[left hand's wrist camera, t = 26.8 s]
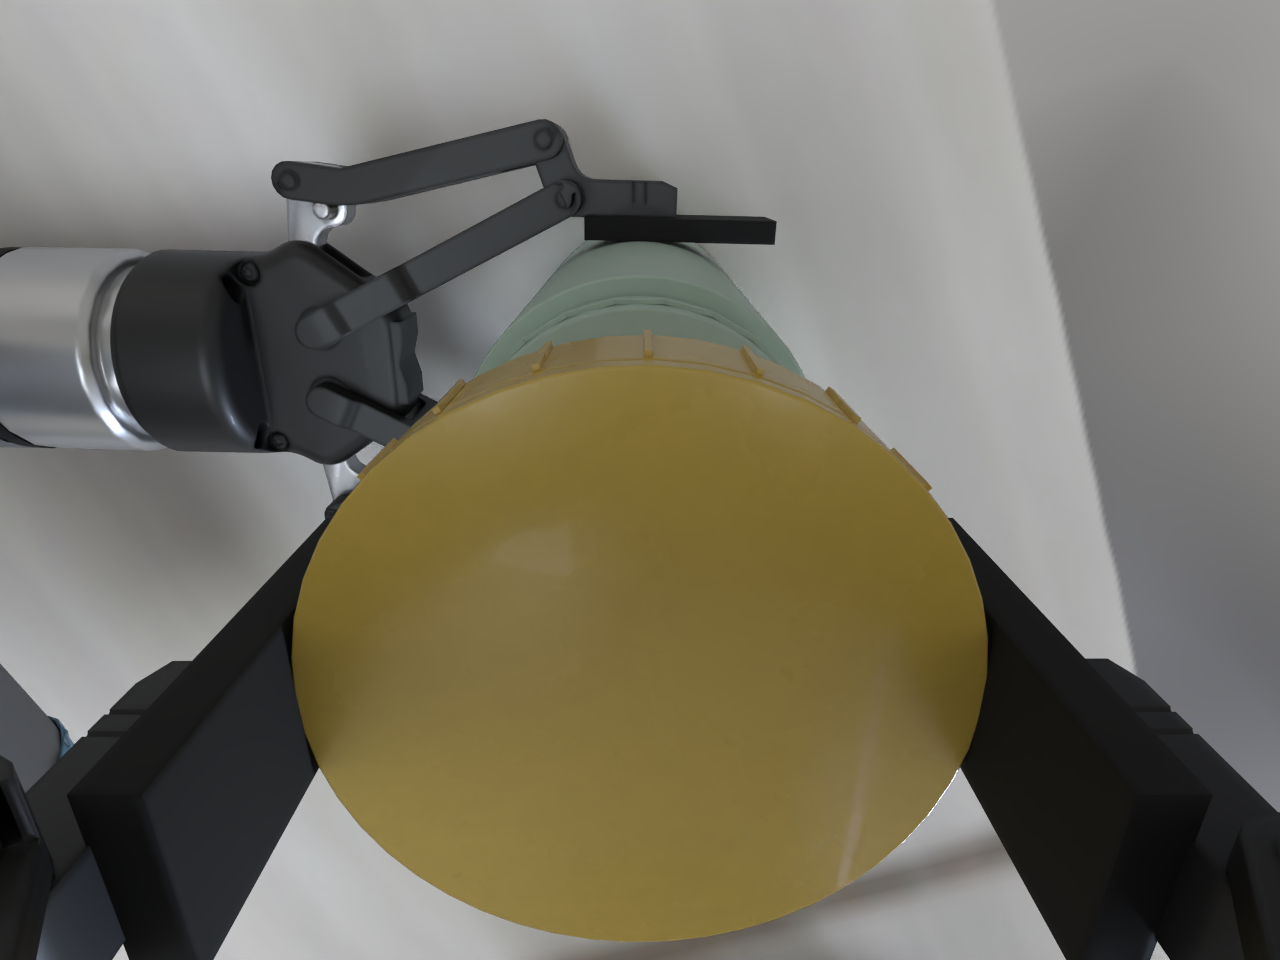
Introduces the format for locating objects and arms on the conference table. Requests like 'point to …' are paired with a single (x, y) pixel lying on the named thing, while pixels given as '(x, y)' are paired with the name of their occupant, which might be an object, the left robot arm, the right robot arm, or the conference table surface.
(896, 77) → the conference table surface
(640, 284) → the jar
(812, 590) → the lid
